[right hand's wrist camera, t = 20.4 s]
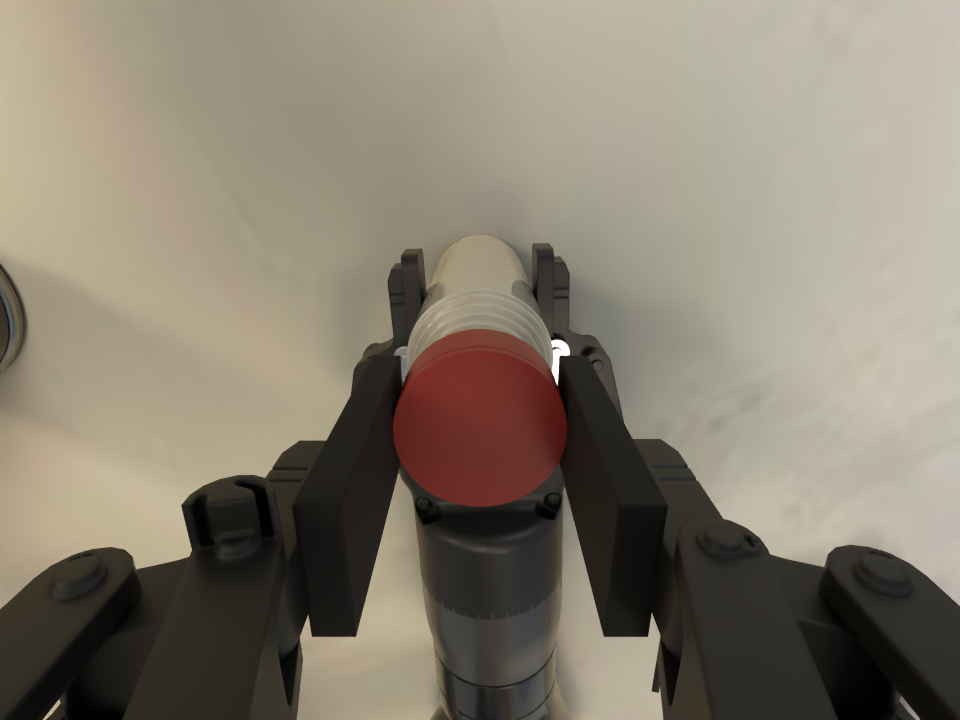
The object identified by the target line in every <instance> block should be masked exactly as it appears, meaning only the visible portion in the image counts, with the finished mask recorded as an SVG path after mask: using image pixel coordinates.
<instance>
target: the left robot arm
mask: <svg viewBox="0 0 960 720" xmlns="http://www.w3.org/2000/svg"><path fill="white" fill-rule="evenodd" d="M388 290H389V299H390V308H391V317H392V326H393V336H394V337H393V338H392V339H391V340H389V341H387V342H384V343H382V344H379V343H374V344H371V345H369V346H368V347H367V349H366V350H365V352H364V354H363V357H362V359H361V360H360V361H359V362H358V364H357V365H356V367H355V369H354V374H353V383H352V391H351V394H352V393H353V391H354V389H355V387H356V385H357V383H358V381H359V380H360V378H361V376H362V374H363V372H364V370H365V368H366V367H367V365H368V363H369V361H370V359H371V357H372V356H373V355H401V372H402V381H403V383H404V381H405V378H406V375H407V373H408V367H407V347H408V342H409V338H410V335H411V333H412V330H413V328H414V325H415V322H416V320H417V317H418V315H419V312H420V310H421V307H422V304H423V302H424V299H425V297H426V294H427V293H426V281H425V270H424V258H423V251H422V249H406V250H405V251H404V252H403V254H402V256H401V263H396V264H395V265H394V267H393V268H392V269H391V272H390V275H389V279H388ZM532 292H533V294H534V297H535V299H536V302H537V304H538V307H539V310H540V312H541V315H542V317H543V320H544V322H545V325H546V327H547V330H548V333H549V335H550V338H551V342H552V346H553V355H554V356H553V368H552V373H553V375H554V377H555V380H556V383H557V386H558V369H559V355H587V356H588V358H589V359H590V361H591V363H592V365H593V367H594V369H595V371H596V372H597V374H598V376H599V378H600V380H601V382H602V384H603V385H604V387H605V389H606V391H607V393H608V395H609V397H610V398H611V400H612V402H613V404H614V406H615V408H616V410H617V411H618V413H619V415H620V417H621V419H622V421H623V423H624V420H623V416H622V411H621V407H620V402H619V398H618V393H617V388H616V384H615V379H614V375H613V370H612V366H611V361H610V359H609V357H608V356H607V354H606V352H605V351H604V349H603V348H602V346H601V345H600V343H599V341H598V340H597V339H596V338H595V337H594V336H592V335H579V334H576V333H573V332H571V331H570V330H569V272H568V269H567V267H566V264H565V262H564V261H563V260H562V258H561V257H560V256H557V257H554V253H553V248H552V247H551V245H550V244H549V243H543V244H533V245H532ZM23 331H24V325H23V315H22V311H21V307H20V304H19V301H18V298H17V296H16V293H15V291H14V289H13V287H12V285H11V284H10V282H9V280H8V279H7V277H6V276H5V274H4V273H3V272H2V270H1V269H0V372H1V371H2V370H4V369H5V368H6V367H7V366H8V365H9V364H10V363H11V362H12V361H13V360H14V358H15V357H16V355H17V353H18V352H19V349H20V347H21V343H22V339H23ZM398 473H400V476H401V478H402V480H403V482H404V483H405V484H406V485H407V487H408V488H409V489H410V491H411V493H412V496H413V501H414V509H415V518H416V527H417V536H418V545H419V554H420V565H421V574H422V583H423V592H424V601H425V609H426V615H427V619H428V623H429V627H430V630H431V633H432V637H433V643H434V652H435V662H436V671H437V680H438V688H439V695H440V699H441V703H442V704H441V705H440V706H439V707H438V708H437V710H436V711H435V712H434V714H433V715H432V717H431V719H430V720H571V717H570V715H569V712H568V710H567V707H566V705H565V703H564V700H563V698H562V695H561V692H560V689H559V686H558V682H557V679H556V635H557V628H558V624H559V618H560V612H561V594H562V526H563V490H564V487H565V484H564V480H563V476H562V472H561V468H560V464H558V465H557V467H556V468H555V470H554V471H553V473H552V474H551V475H550V476H549V477H548V479H547V480H546V481H545V482H543V483H542V484H541V485H540V486H539V487H538V488H536V489H535V490H533V491H532V492H530V493H529V494H527V495H525V496H523V497H521V498H519V499H516V500H514V501H511V502H508V503H504V504H500V505H494V506H481V507H478V506H466V505H460V504H456V503H452V502H449V501H446V500H444V499H441V498H439V497H437V496H435V495H433V494H432V493H430V492H428V491H427V490H425V489H424V488H423V487H421V486H420V485H419V484H418V483H417V482H416V481H415V480H414V479H413V478H412V477H411V476H410V475H409V474H408V472H407V471H406V470H405V468H404V467H403V465H402V463H401V464H400V468H399V471H398Z"/></svg>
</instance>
